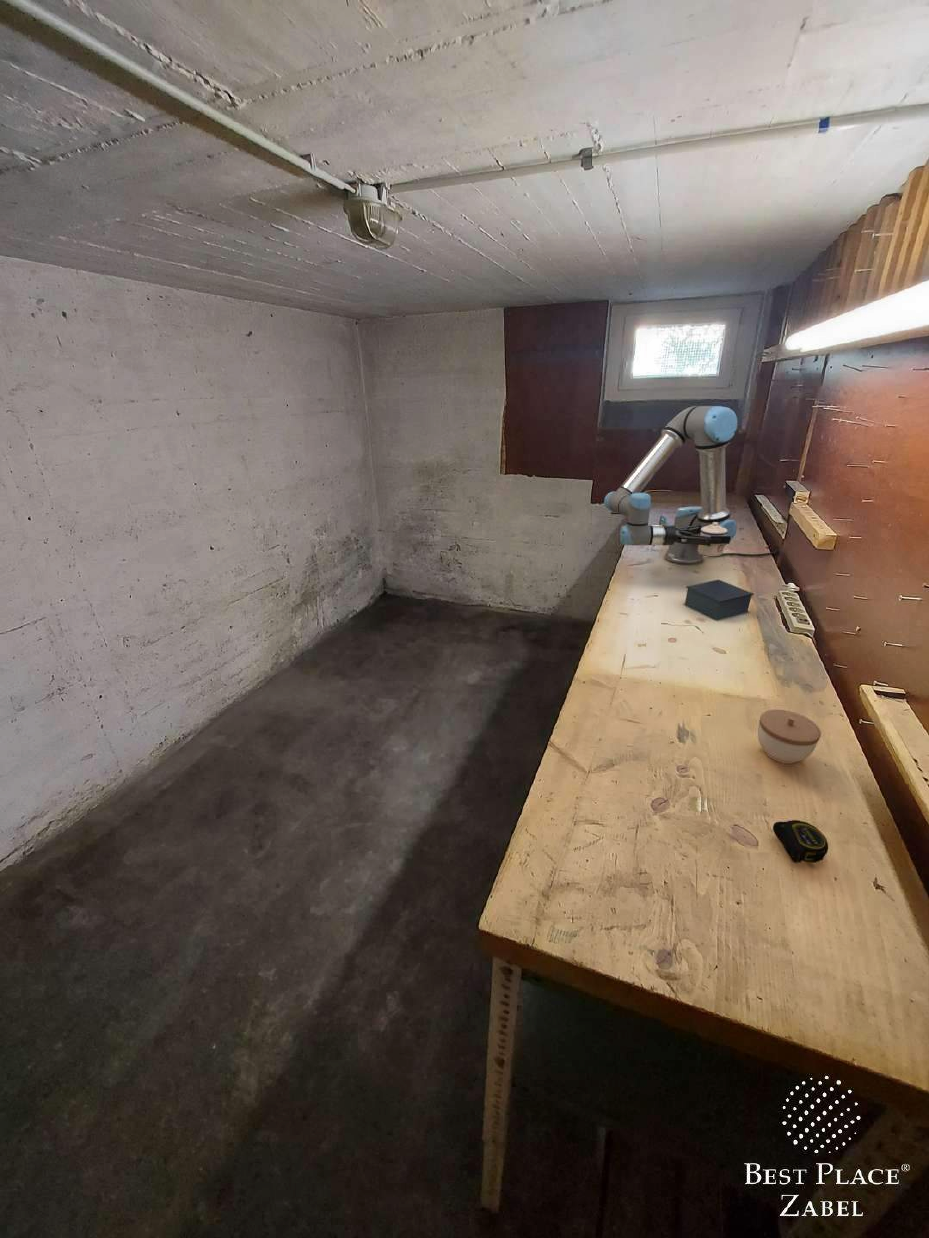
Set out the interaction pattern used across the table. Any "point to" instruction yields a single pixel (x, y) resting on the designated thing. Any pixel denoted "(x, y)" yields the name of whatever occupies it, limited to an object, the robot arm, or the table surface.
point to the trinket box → (787, 735)
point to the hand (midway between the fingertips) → (724, 535)
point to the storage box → (718, 599)
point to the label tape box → (663, 521)
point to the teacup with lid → (713, 548)
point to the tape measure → (801, 841)
